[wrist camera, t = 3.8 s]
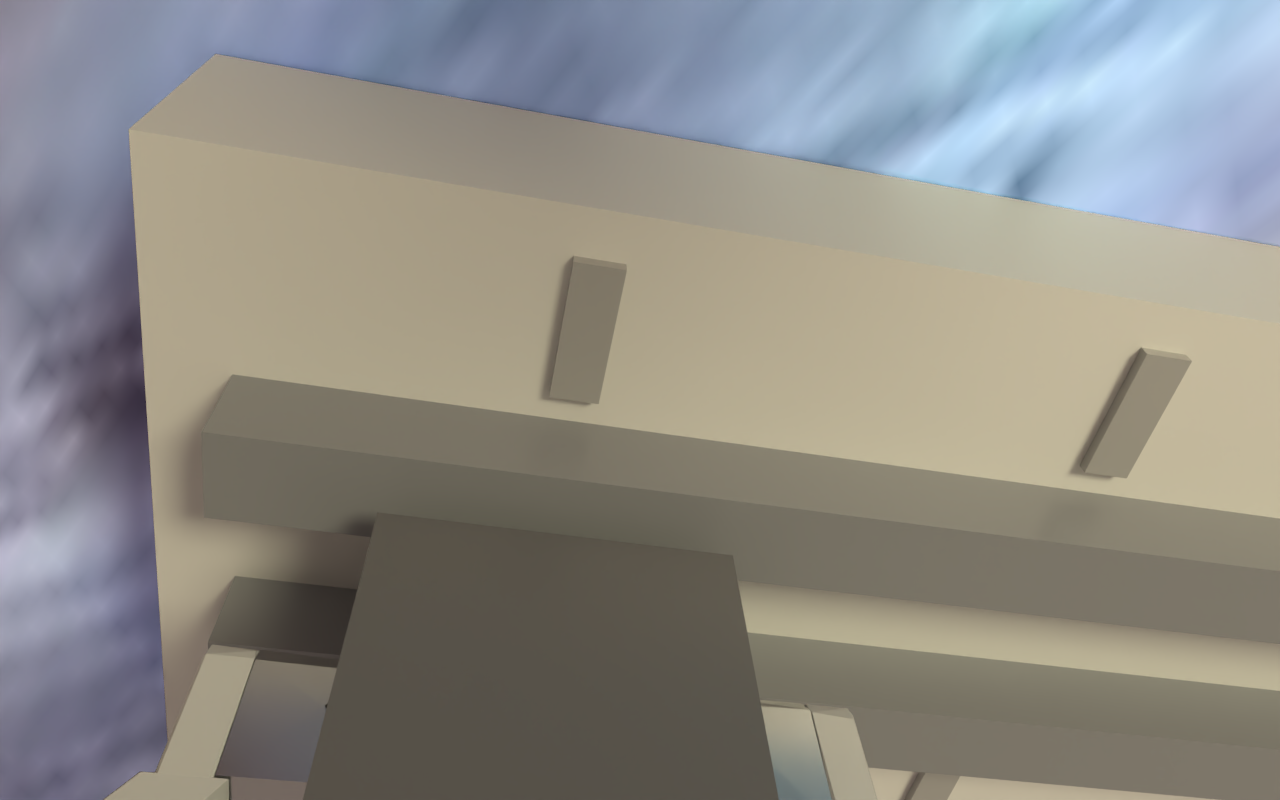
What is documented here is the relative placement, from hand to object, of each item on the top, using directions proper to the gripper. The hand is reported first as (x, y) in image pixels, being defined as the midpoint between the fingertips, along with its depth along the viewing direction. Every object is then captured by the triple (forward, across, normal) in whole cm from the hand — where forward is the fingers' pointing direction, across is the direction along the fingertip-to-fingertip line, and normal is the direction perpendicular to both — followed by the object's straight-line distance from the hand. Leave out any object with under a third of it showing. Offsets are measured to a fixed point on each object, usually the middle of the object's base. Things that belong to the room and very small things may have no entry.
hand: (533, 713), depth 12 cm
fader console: (+6, -7, 0) cm, 9 cm away
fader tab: (+3, 0, 0) cm, 3 cm away
